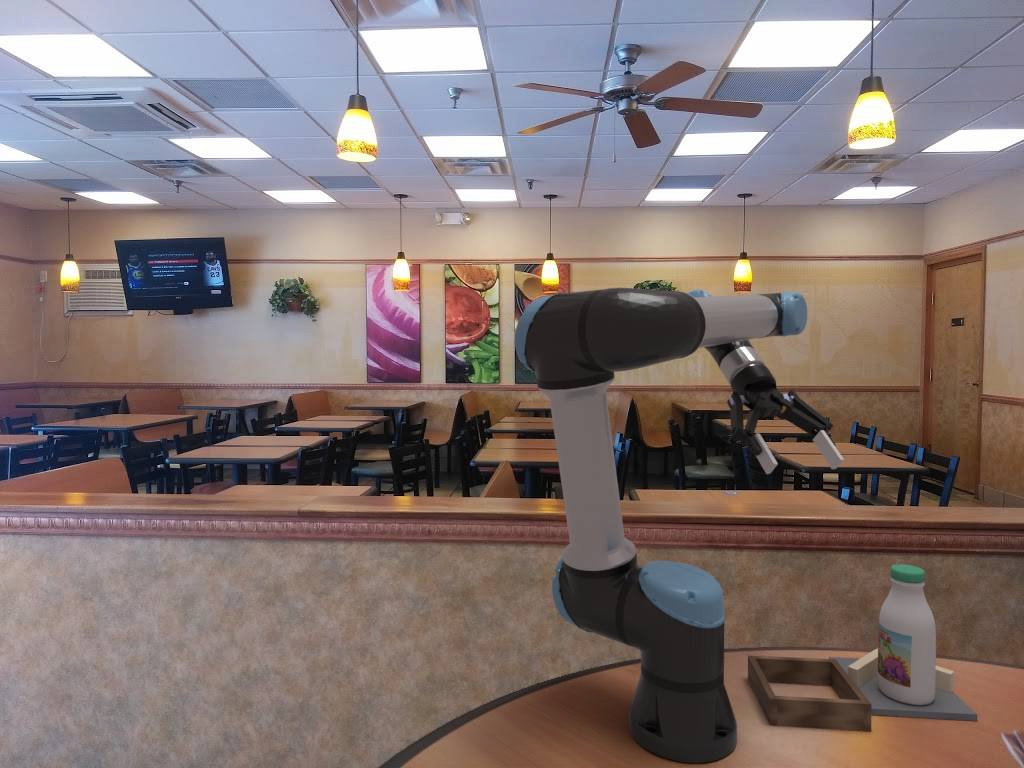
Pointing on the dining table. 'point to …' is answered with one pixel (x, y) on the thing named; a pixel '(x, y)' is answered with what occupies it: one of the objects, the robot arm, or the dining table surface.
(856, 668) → the v cradle
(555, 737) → the dining table surface
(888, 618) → the milk bottle
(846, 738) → the dining table surface
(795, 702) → the walnut collar
